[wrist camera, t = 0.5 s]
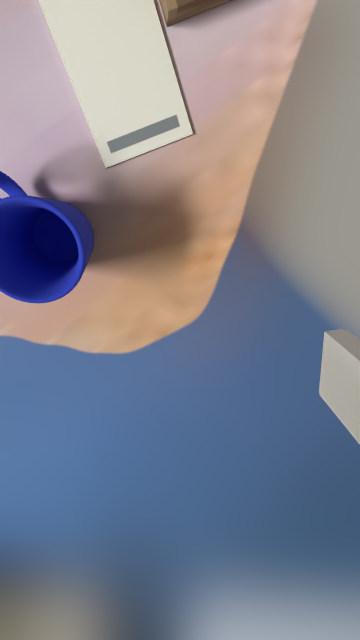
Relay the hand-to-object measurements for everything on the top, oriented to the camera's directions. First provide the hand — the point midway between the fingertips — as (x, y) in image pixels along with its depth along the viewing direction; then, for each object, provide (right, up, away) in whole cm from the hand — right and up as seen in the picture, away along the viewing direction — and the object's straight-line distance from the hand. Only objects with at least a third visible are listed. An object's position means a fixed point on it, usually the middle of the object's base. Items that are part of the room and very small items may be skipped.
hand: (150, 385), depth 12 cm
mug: (-12, +13, +22) cm, 28 cm away
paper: (-4, +25, +17) cm, 31 cm away
